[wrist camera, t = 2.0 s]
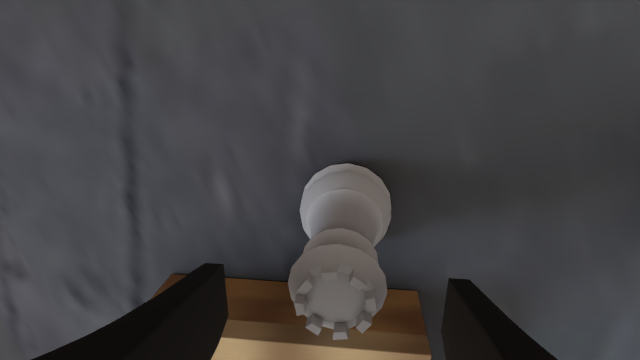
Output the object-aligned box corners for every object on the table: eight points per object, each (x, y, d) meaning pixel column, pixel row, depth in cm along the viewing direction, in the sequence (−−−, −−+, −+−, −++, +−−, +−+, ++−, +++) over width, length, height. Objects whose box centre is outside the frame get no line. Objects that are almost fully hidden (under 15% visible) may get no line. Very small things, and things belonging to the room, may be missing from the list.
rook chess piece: (301, 237, 20) (264, 355, 12) (303, 157, 18) (261, 236, 11) (386, 245, 19) (401, 371, 12) (395, 163, 18) (419, 249, 10)
